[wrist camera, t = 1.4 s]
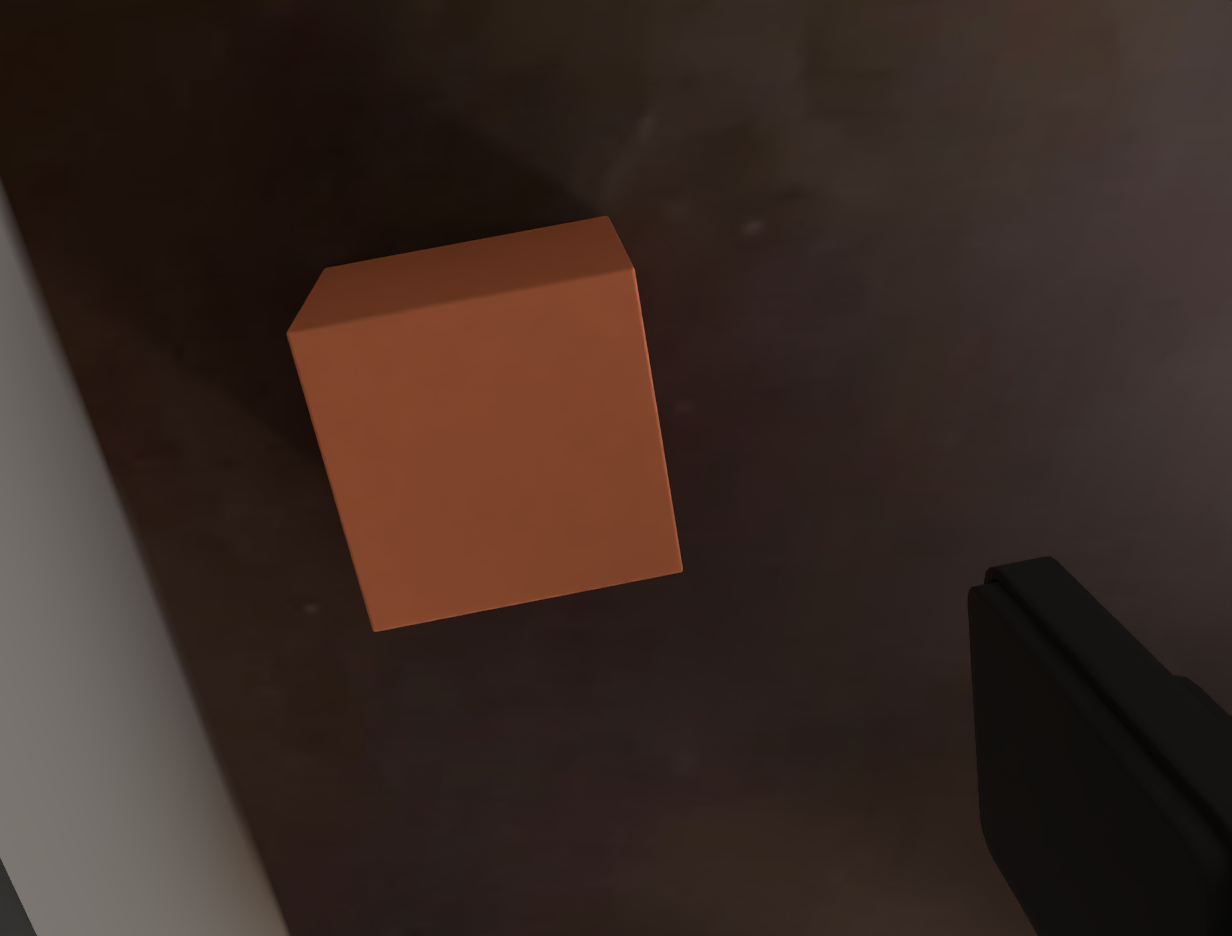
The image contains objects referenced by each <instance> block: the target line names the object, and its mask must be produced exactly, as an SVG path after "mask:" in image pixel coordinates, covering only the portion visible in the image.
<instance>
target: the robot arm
mask: <svg viewBox="0 0 1232 936" xmlns="http://www.w3.org/2000/svg"><path fill="white" fill-rule="evenodd" d="M968 618H969V635H970V652H971V670H972V687H973V704H974V722H975V739H976V756H977V774H978V791H979V809H980V820H981V826H982V830H983V834H984V838H985V841H986V844H987V846H988V849H989V851H990V854H991V855H992V857H993V859H994V861H995V863H996V865H997V866H998V868H999V870H1000V871H1001V873H1002V875H1003V877H1004V878H1005V880H1006V882H1007V883H1008V885H1009V887H1010V888H1011V890H1012V892H1013V894H1014V895H1015V897H1016V899H1017V900H1018V902H1019V904H1020V906H1021V907H1022V909H1023V911H1024V912H1025V914H1026V916H1027V918H1028V919H1029V921H1030V923H1031V924H1032V926H1033V928H1034V929H1035V931H1036V933H1037V935H1038V936H1232V718H1231V717H1230V716H1229V715H1228V714H1227V713H1226V712H1225V711H1224V710H1223V709H1222V708H1221V707H1220V706H1219V705H1218V704H1217V703H1216V702H1215V701H1214V700H1213V699H1212V698H1211V697H1210V696H1209V695H1208V694H1207V693H1205V692H1204V691H1203V690H1202V689H1201V688H1200V687H1199V686H1198V685H1197V684H1195V683H1194V682H1192V681H1191V680H1190V679H1188V678H1187V677H1183V676H1177V675H1172V674H1171V673H1170V672H1169V671H1168V670H1167V669H1166V668H1165V667H1164V666H1163V665H1162V664H1161V663H1160V662H1159V661H1158V660H1157V659H1156V658H1155V657H1154V656H1153V655H1152V654H1151V653H1150V652H1149V651H1148V650H1147V649H1146V648H1145V647H1144V646H1143V645H1142V644H1141V643H1140V642H1139V641H1138V640H1137V639H1136V638H1135V637H1134V636H1133V635H1132V634H1131V633H1130V632H1129V631H1128V630H1127V629H1126V628H1125V627H1124V626H1123V625H1122V624H1121V623H1120V622H1119V621H1118V620H1117V619H1116V618H1115V617H1114V616H1112V615H1111V614H1110V613H1109V612H1108V611H1107V610H1106V609H1105V608H1104V607H1103V606H1102V605H1101V604H1100V603H1099V602H1098V601H1097V600H1096V599H1095V598H1094V597H1093V596H1092V595H1091V594H1090V593H1089V592H1088V591H1087V590H1086V589H1085V588H1084V587H1083V586H1082V585H1081V584H1080V583H1079V582H1078V581H1077V580H1076V579H1075V578H1074V577H1073V576H1072V575H1071V574H1070V573H1069V572H1068V571H1067V570H1066V569H1065V568H1064V567H1063V566H1062V565H1061V564H1060V563H1059V562H1058V561H1056V560H1055V559H1054V558H1052V557H1051V556H1048V557H1040V558H1035V559H1030V560H1025V561H1020V562H1015V563H1010V564H1005V565H1000V566H995V567H990V568H989V569H988V570H987V571H986V574H985V579H984V585H979V586H973V587H971V588H970V590H969V593H968ZM0 936H37V935H36V933H35V931H34V929H33V927H32V925H31V922H30V920H29V918H28V916H27V914H26V912H25V910H24V908H23V905H22V903H21V901H20V899H19V897H18V895H17V893H16V891H15V889H14V887H13V885H12V882H11V880H10V878H9V876H8V874H7V872H6V869H5V867H4V865H3V863H2V861H1V859H0Z"/></svg>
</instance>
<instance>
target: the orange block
mask: <svg viewBox="0 0 1232 936" xmlns="http://www.w3.org/2000/svg"><path fill="white" fill-rule="evenodd" d="M287 338H288V341H289V345H290V348H291V351H292V355H293V358H294V362H295V365H296V369H297V372H298V376H299V379H300V382H301V386H302V389H303V393H304V396H305V400H306V403H307V406H308V410H309V413H310V417H311V420H312V424H313V427H314V430H315V434H316V437H317V441H318V444H319V448H320V451H321V455H322V458H323V461H324V465H325V468H326V472H327V475H328V479H329V482H330V485H331V489H332V492H333V496H334V499H335V503H336V506H337V509H338V513H339V516H340V520H341V523H342V527H343V530H344V534H345V537H346V540H347V544H348V547H349V551H350V554H351V558H352V561H353V564H354V568H355V571H356V575H357V578H358V582H359V585H360V588H361V592H362V595H363V599H364V602H365V606H366V609H367V612H368V616H369V619H370V623H371V626H372V629H373V631H375V632H377V631H382V630H387V629H392V628H397V627H402V626H408V625H413V624H418V623H423V622H428V621H433V620H438V619H444V618H449V617H454V616H459V615H464V614H469V613H474V612H480V611H485V610H490V609H495V608H500V607H505V606H510V605H515V604H521V603H526V602H531V601H536V600H541V599H546V598H551V597H557V596H562V595H567V594H572V593H577V592H582V591H587V590H593V589H598V588H603V587H608V586H613V585H618V584H623V583H629V582H634V581H639V580H644V579H649V578H654V577H659V576H664V575H670V574H675V573H680V572H682V570H683V566H682V560H681V554H680V548H679V541H678V535H677V529H676V523H675V517H674V510H673V504H672V498H671V492H670V486H669V479H668V473H667V467H666V461H665V455H664V448H663V442H662V436H661V430H660V424H659V418H658V411H657V405H656V399H655V393H654V387H653V380H652V374H651V368H650V362H649V356H648V349H647V343H646V337H645V331H644V325H643V319H642V312H641V306H640V300H639V294H638V288H637V281H636V275H635V269H634V267H633V265H632V263H631V261H630V259H629V257H628V255H627V253H626V251H625V249H624V247H623V245H622V243H621V241H620V239H619V237H618V235H617V233H616V231H615V229H614V227H613V225H612V223H611V221H610V219H609V217H608V216H602V217H596V218H591V219H586V220H580V221H575V222H570V223H564V224H559V225H554V226H548V227H543V228H537V229H532V230H527V231H521V232H516V233H511V234H505V235H500V236H495V237H489V238H484V239H478V240H473V241H468V242H462V243H457V244H452V245H446V246H441V247H436V248H430V249H425V250H419V251H414V252H409V253H403V254H398V255H393V256H387V257H382V258H377V259H371V260H366V261H360V262H355V263H350V264H344V265H339V266H334V267H328V268H325V269H324V270H323V272H322V274H321V275H320V277H319V279H318V280H317V282H316V284H315V285H314V287H313V289H312V291H311V292H310V294H309V296H308V297H307V299H306V301H305V302H304V304H303V306H302V307H301V309H300V311H299V312H298V314H297V316H296V318H295V319H294V321H293V323H292V324H291V326H290V328H289V329H288V331H287Z"/></svg>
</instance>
